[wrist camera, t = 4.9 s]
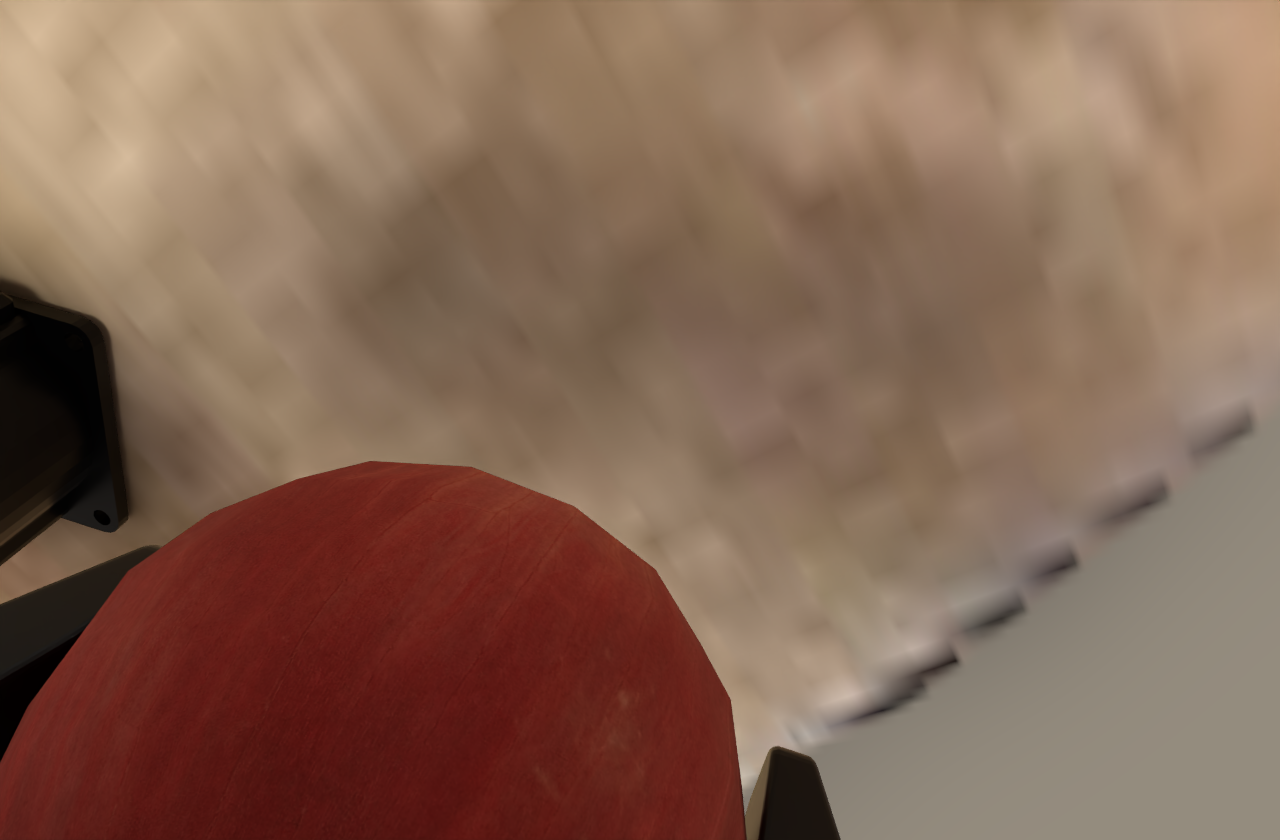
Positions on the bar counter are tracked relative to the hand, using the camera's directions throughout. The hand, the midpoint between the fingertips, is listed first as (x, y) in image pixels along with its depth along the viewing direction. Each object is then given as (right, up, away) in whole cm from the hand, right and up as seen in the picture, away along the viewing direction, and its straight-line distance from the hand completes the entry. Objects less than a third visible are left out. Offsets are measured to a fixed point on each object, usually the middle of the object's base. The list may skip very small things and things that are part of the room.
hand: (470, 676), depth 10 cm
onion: (+1, +1, +2) cm, 2 cm away
